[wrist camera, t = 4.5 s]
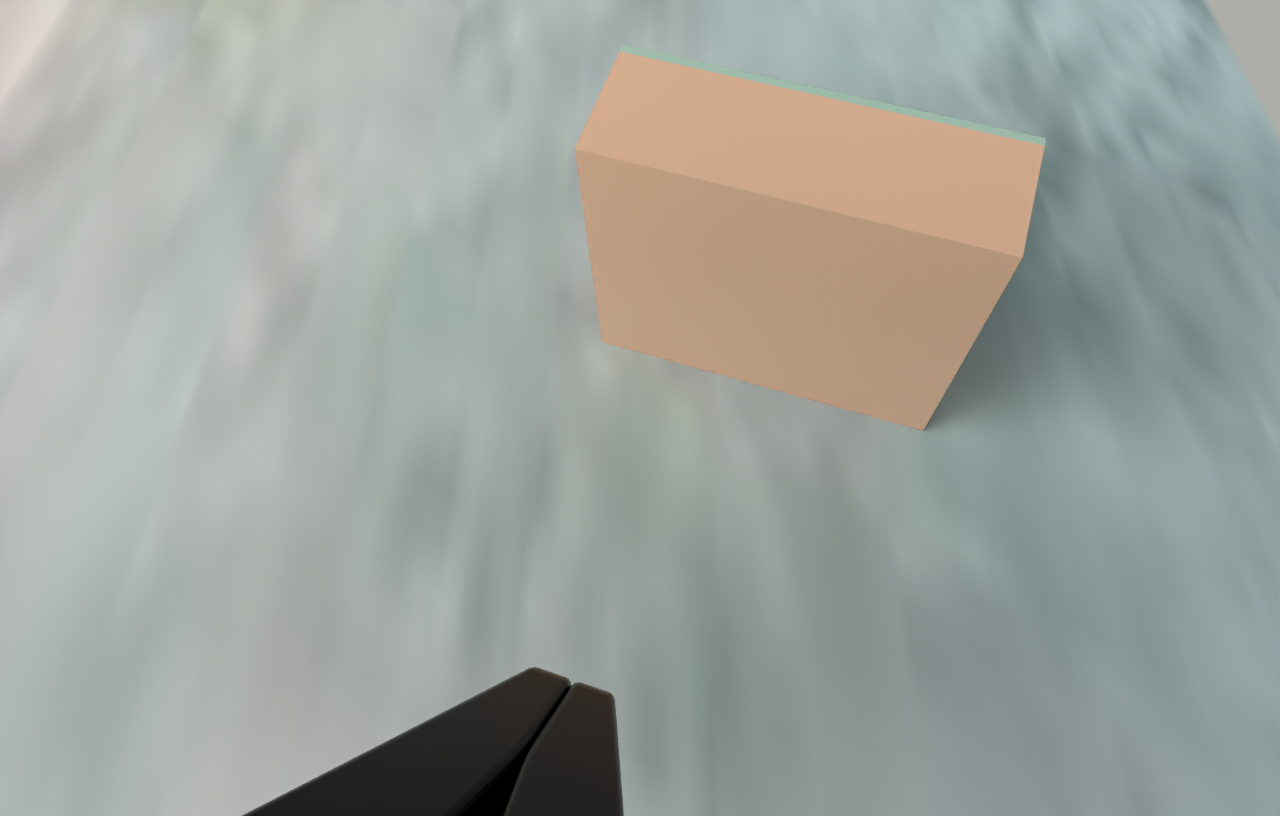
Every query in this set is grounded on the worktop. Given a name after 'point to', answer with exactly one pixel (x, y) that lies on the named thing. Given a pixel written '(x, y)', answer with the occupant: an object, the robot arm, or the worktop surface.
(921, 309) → the tile
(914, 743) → the worktop surface
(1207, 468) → the worktop surface
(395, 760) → the robot arm
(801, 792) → the worktop surface
